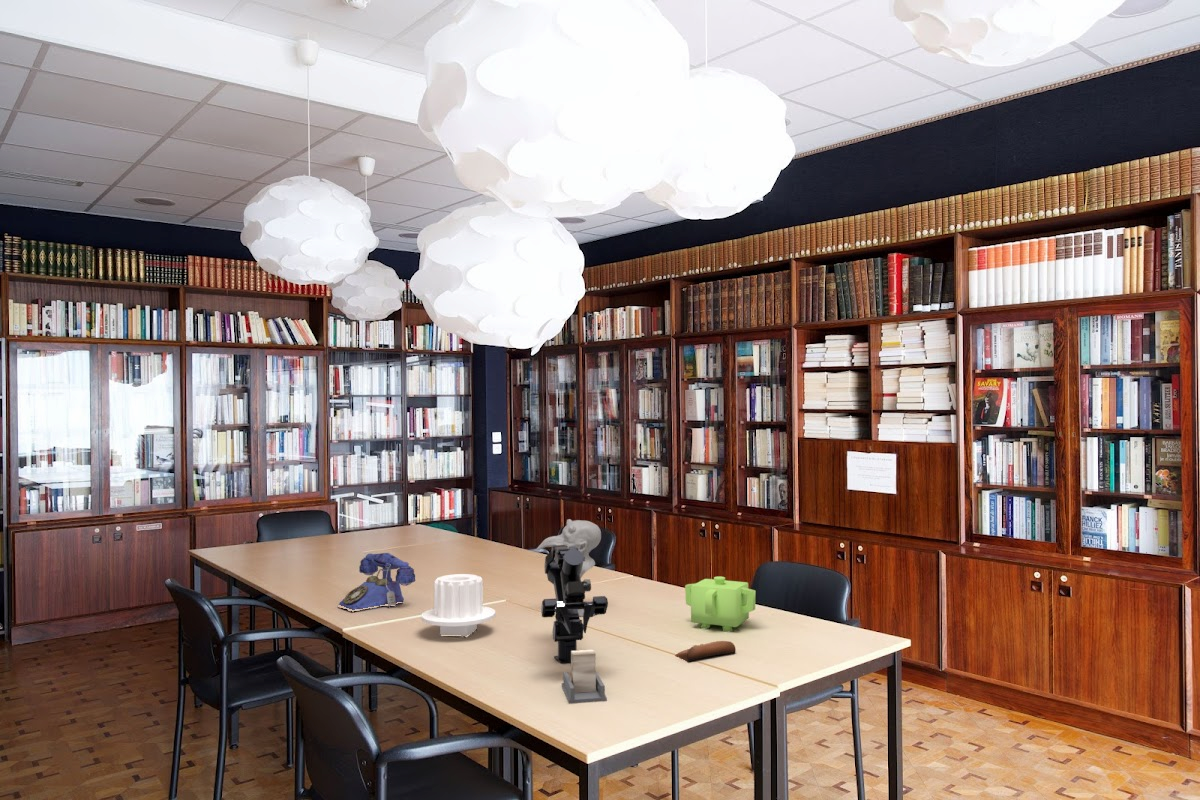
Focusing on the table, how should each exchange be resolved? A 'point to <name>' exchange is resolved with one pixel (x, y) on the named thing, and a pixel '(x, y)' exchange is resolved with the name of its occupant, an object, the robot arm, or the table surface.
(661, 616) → the table surface
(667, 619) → the table surface
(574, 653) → the cream block
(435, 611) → the flanged gear
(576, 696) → the gray chute
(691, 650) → the brown elongated lump
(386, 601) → the rotary telephone
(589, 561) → the bust sculpture
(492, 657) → the table surface
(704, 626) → the storage box
